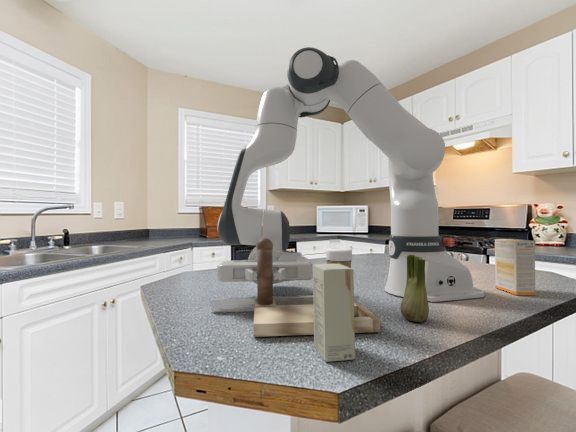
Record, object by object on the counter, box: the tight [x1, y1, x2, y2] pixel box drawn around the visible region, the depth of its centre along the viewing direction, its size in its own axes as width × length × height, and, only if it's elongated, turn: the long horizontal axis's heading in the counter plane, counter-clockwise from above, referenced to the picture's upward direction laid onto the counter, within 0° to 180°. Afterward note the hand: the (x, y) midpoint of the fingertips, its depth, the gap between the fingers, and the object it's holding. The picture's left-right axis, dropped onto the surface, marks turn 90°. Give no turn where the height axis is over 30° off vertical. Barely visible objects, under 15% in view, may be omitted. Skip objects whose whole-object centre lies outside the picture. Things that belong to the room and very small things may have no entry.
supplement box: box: [494, 238, 536, 296], centre depth 79 cm, size 8×5×13 cm, turn 179°
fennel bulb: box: [399, 255, 430, 323], centre depth 58 cm, size 6×5×12 cm
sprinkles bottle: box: [325, 247, 353, 268], centre depth 56 cm, size 5×5×14 cm
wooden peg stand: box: [252, 238, 381, 338], centre depth 58 cm, size 20×14×15 cm
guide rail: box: [211, 293, 359, 313], centre depth 66 cm, size 30×2×2 cm, turn 95°
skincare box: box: [312, 263, 356, 363], centre depth 45 cm, size 6×4×12 cm
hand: (265, 277), depth 61 cm, fingers open, 3 cm apart
